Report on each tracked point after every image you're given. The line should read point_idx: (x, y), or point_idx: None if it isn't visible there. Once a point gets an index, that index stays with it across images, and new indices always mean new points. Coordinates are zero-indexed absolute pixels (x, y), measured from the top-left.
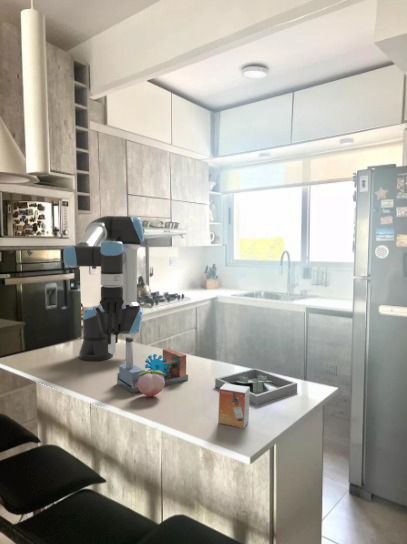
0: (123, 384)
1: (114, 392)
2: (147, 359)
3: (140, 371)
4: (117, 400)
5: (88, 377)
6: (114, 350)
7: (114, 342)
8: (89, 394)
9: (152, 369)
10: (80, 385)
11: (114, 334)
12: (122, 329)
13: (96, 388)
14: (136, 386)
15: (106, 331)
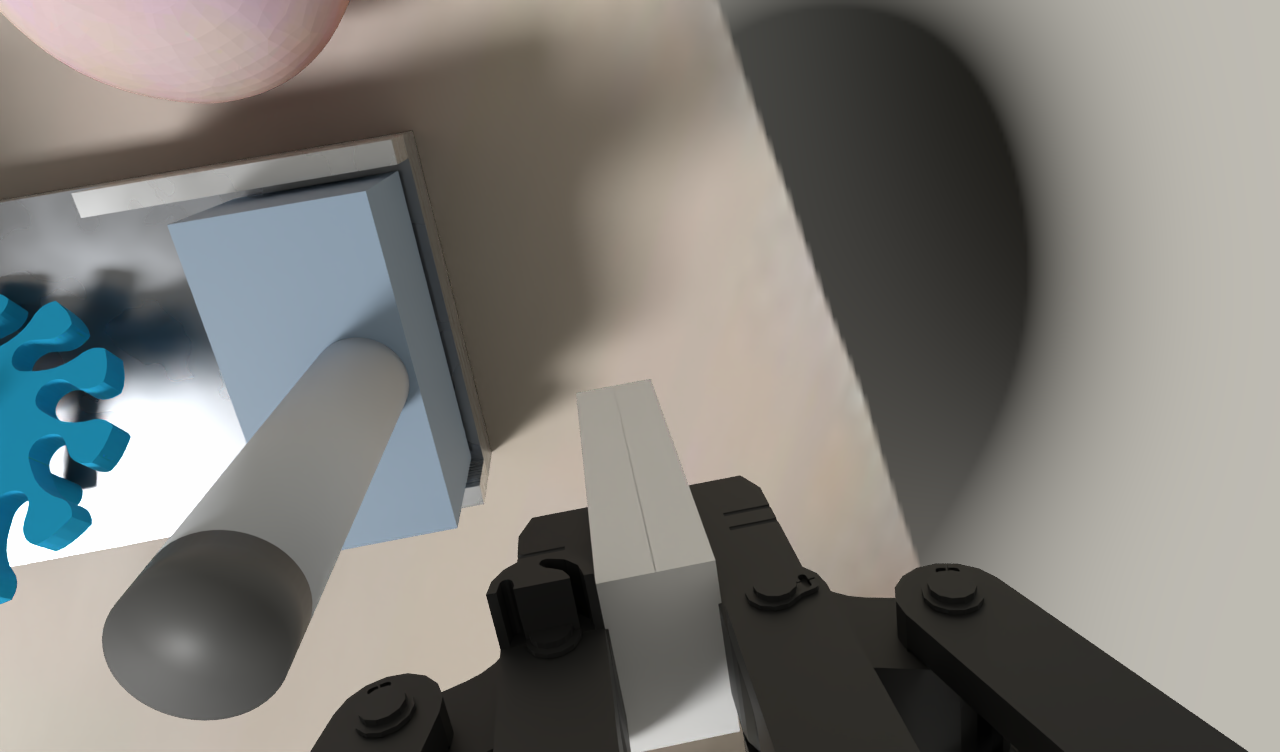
0: (456, 335)
1: (571, 252)
2: (39, 533)
3: (237, 213)
4: (603, 28)
5: None
6: (599, 411)
7: (610, 482)
8: (792, 303)
9: (45, 393)
10: (794, 538)
11: (608, 638)
12: (343, 737)
13: (694, 419)
14: (351, 143)
15: (920, 622)
